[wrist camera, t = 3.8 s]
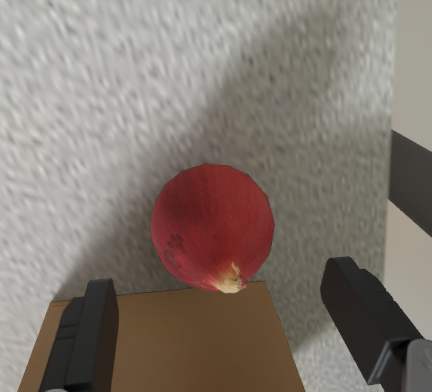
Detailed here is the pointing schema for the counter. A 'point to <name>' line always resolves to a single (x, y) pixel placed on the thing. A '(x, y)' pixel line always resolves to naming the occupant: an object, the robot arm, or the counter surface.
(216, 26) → the counter surface
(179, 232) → the onion
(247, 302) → the carton
